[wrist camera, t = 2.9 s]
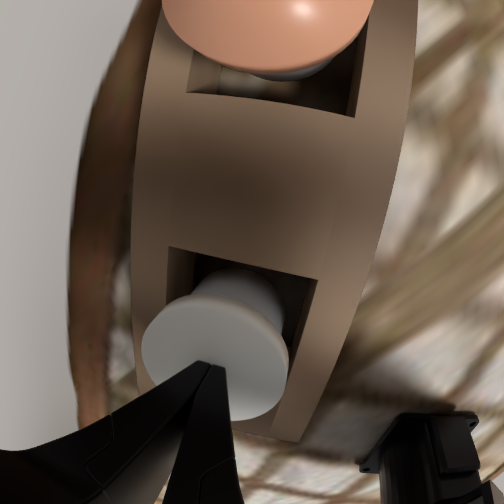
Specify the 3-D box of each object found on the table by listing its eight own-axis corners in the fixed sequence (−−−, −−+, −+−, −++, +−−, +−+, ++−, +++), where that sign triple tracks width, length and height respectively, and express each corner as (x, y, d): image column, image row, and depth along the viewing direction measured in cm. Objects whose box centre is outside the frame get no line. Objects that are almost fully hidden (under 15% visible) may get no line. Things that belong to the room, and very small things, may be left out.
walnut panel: (302, 400, 15) (298, 443, 13) (162, 363, 16) (139, 398, 13) (399, -38, 7) (415, -72, 4) (217, -59, 8) (195, -93, 5)
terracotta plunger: (344, 107, 8) (364, 85, 5) (200, 85, 9) (142, 62, 5) (360, -13, 6) (377, -74, 3) (225, -27, 7) (186, -84, 4)
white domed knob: (281, 366, 12) (268, 433, 9) (181, 340, 13) (145, 396, 10) (307, 272, 11) (303, 331, 7) (187, 245, 11) (139, 289, 8)
